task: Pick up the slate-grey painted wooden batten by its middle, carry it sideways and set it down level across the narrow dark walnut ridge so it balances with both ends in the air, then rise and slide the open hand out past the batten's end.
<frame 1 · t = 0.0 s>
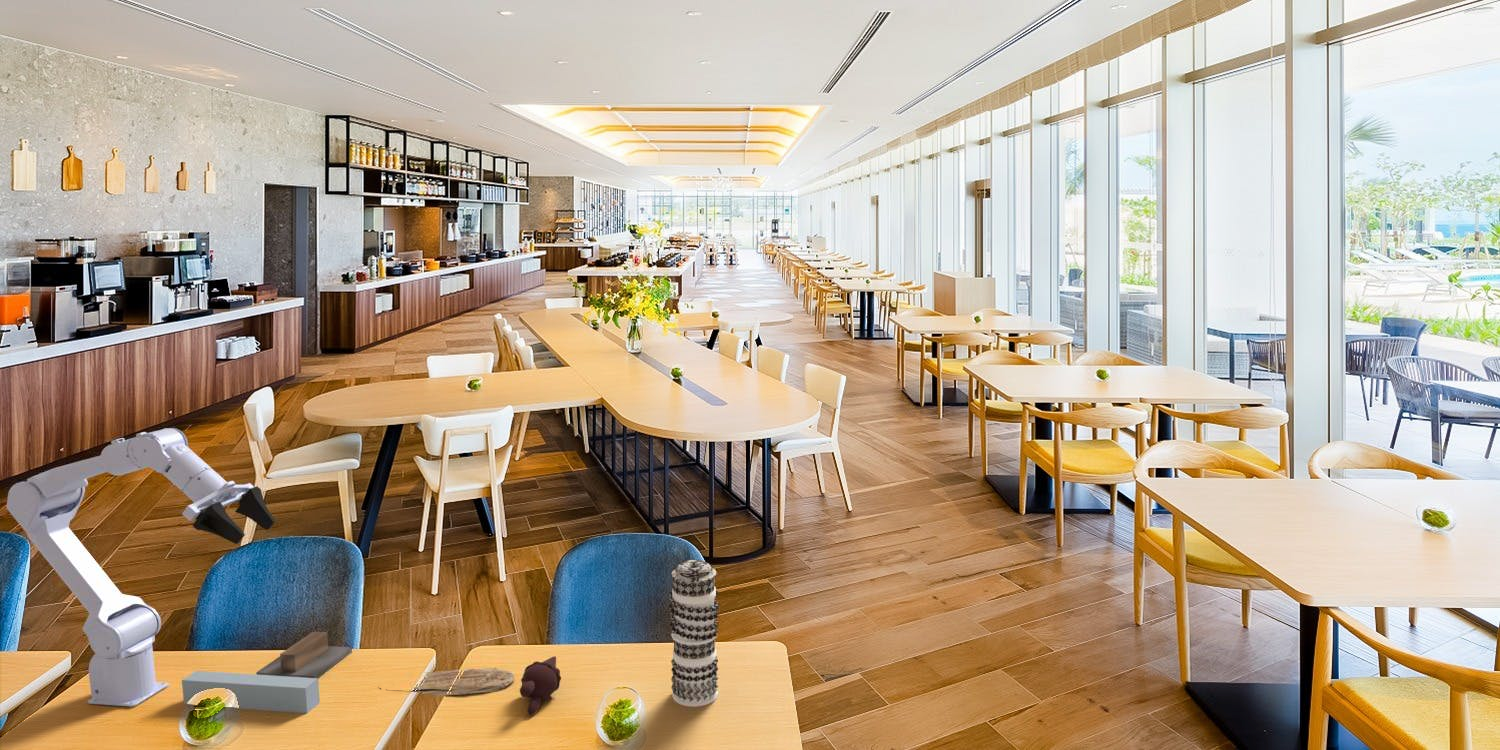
hand: (256, 532, 146), 32 cm above the table, tool tilted 50°, fingers open, 7 cm apart
icecream: (541, 697, 153), on the table
fulcrum: (305, 664, 165), on the table
fish fossil: (446, 684, 159), on the table
batten: (252, 705, 151), on the table
white patterned cylinder: (694, 695, 154), on the table
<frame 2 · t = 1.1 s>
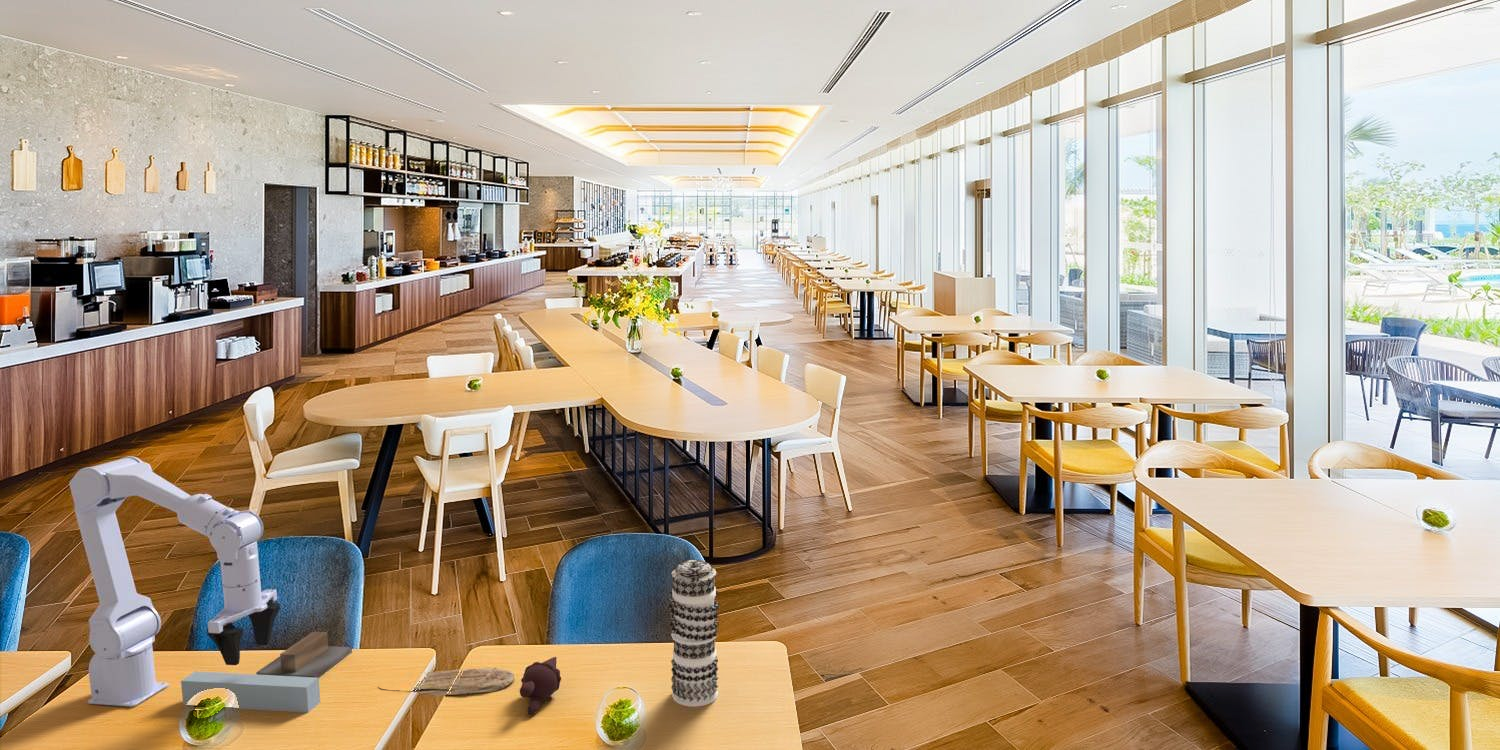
hand: (248, 654, 149), 9 cm above the table, tool pointing down, fingers open, 7 cm apart
nothing on the table moved.
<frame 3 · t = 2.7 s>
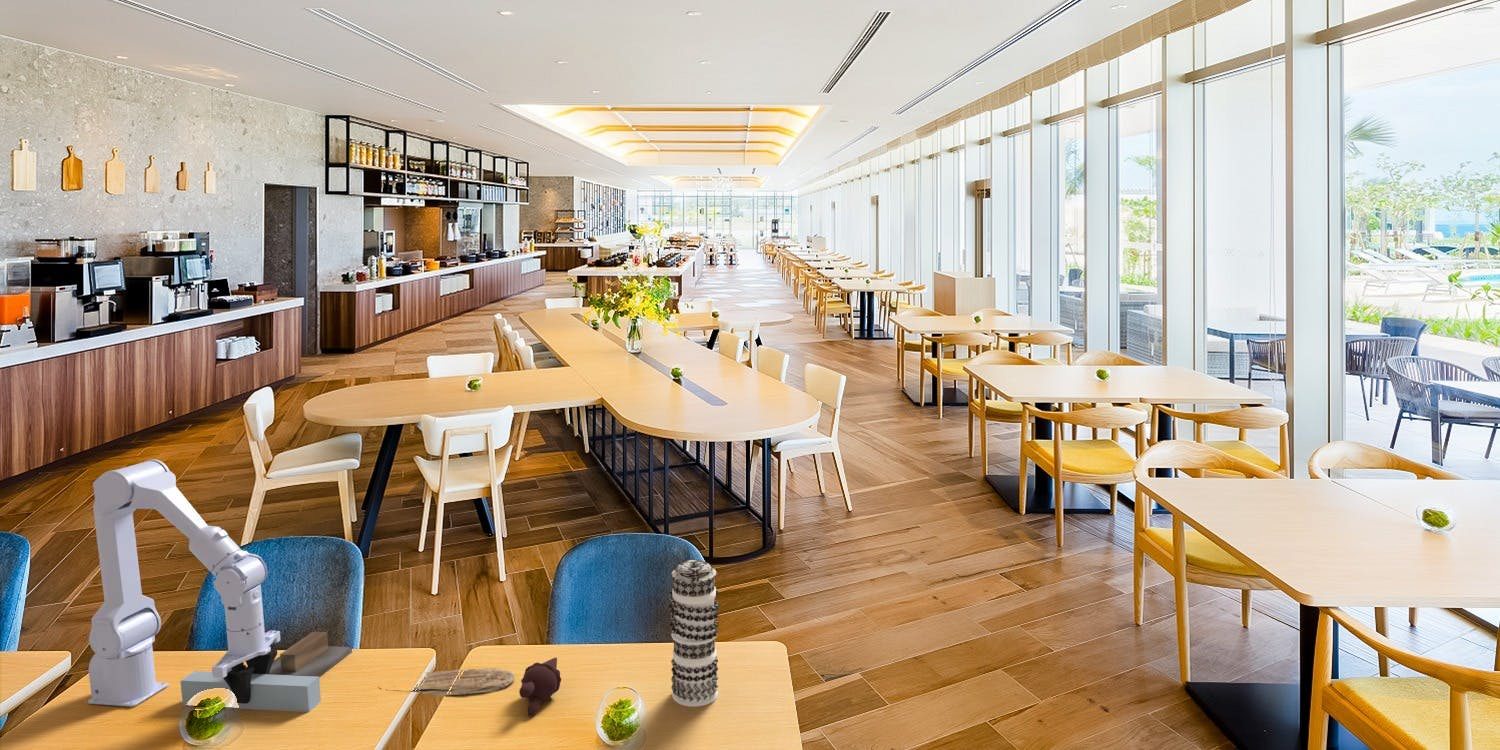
hand: (251, 696, 150), 1 cm above the table, tool pointing down, fingers closed on batten, 4 cm apart
batten: (252, 704, 151), on the table, touching gripper
everything else where it was.
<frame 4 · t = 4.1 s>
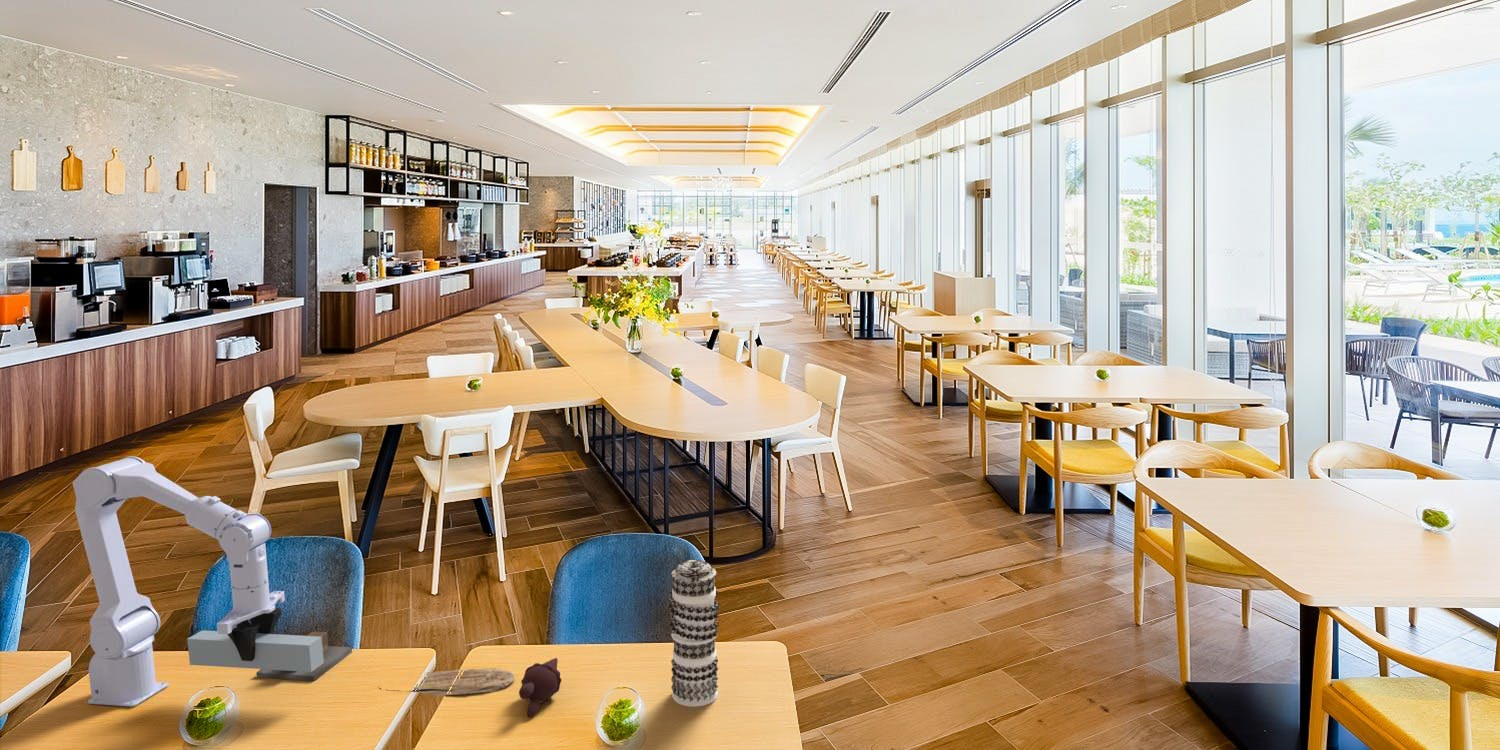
hand: (256, 654, 151), 8 cm above the table, tool pointing down, fingers closed on batten, 3 cm apart
batten: (256, 663, 152), point 7 cm above the table, touching gripper
everything else where it was.
when the fingers open (7 cm above the table, at t = 5.7 s): batten stays where it is, resting on fulcrum.
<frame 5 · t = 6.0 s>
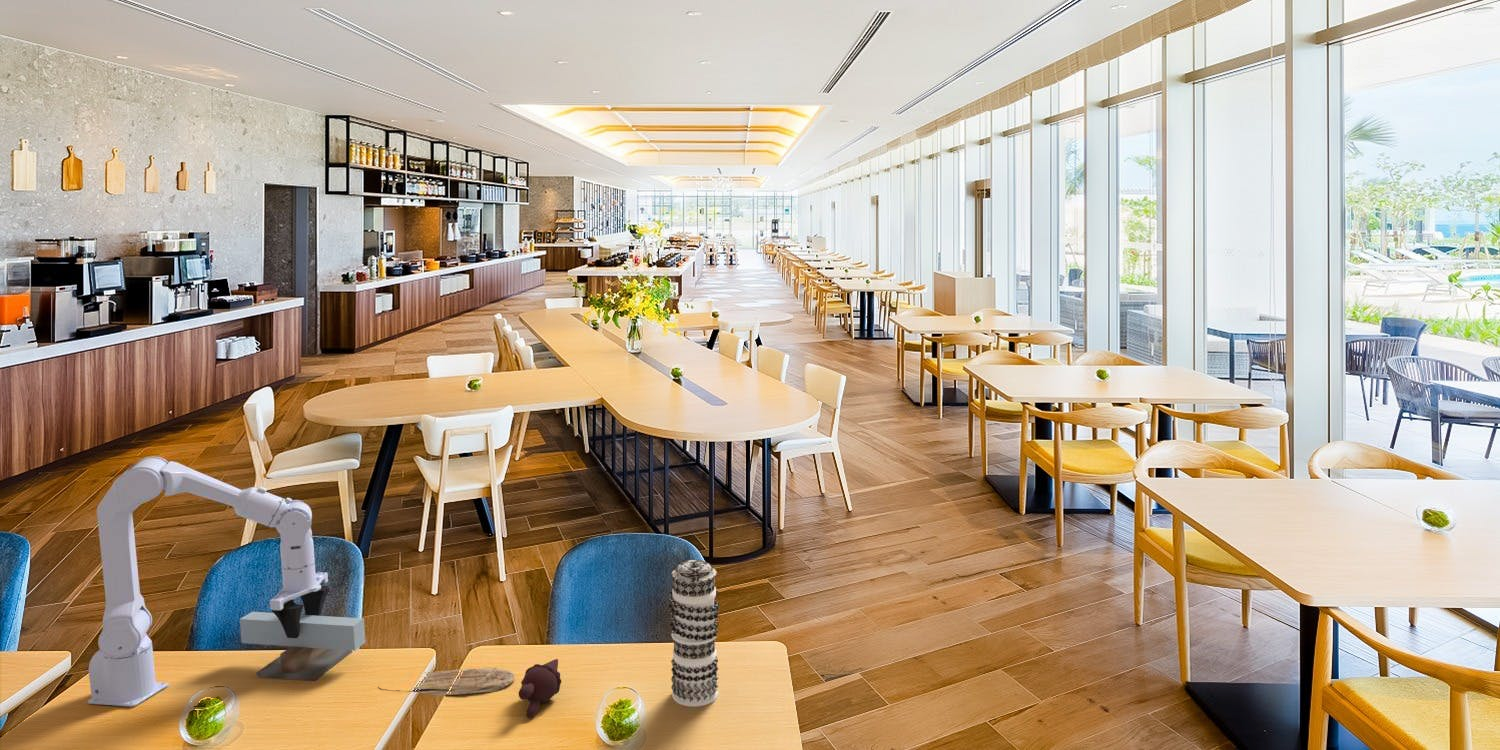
hand: (303, 630, 164), 7 cm above the table, tool pointing down, fingers open, 6 cm apart
batten: (303, 642, 165), point 5 cm above the table, touching fulcrum
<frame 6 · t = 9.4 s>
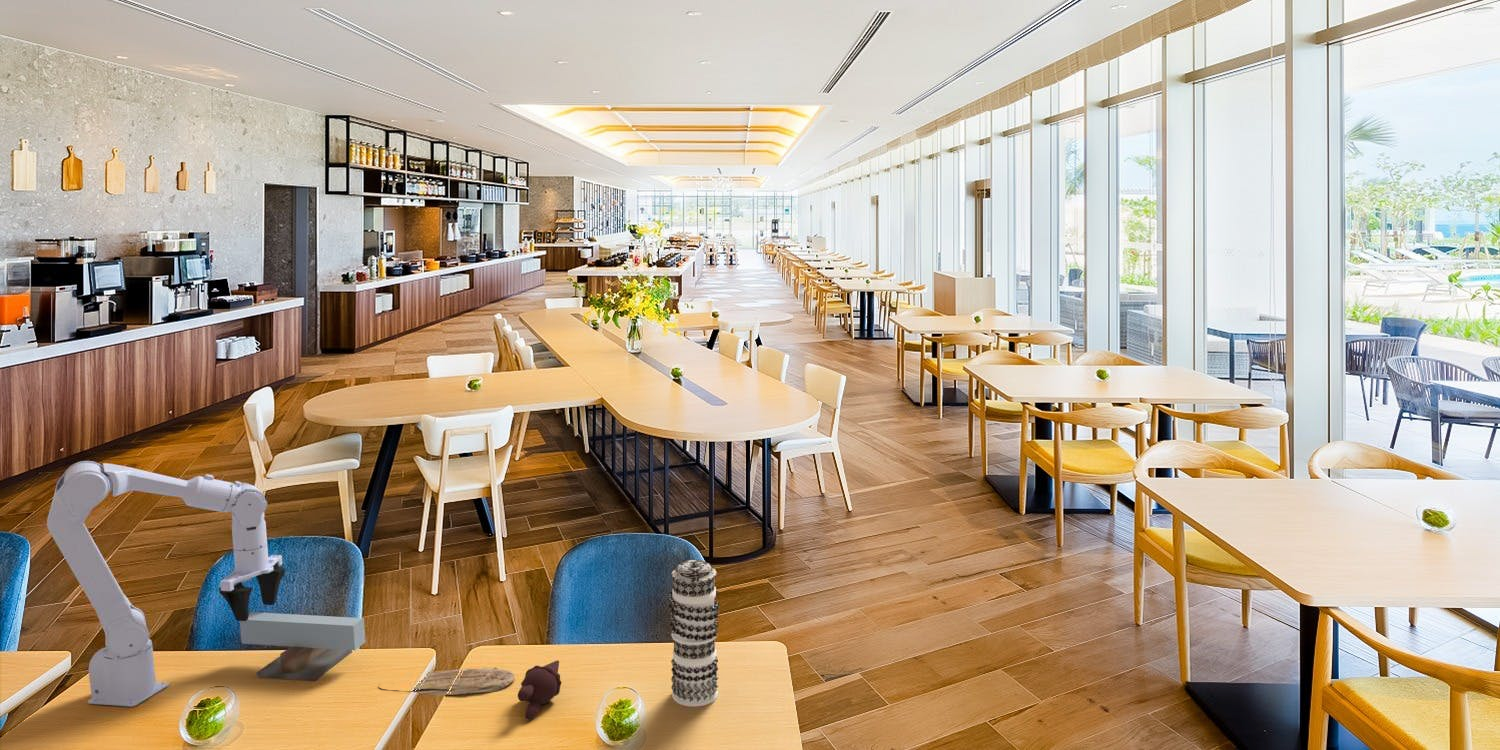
hand: (255, 612, 165), 10 cm above the table, tool pointing down, fingers open, 7 cm apart
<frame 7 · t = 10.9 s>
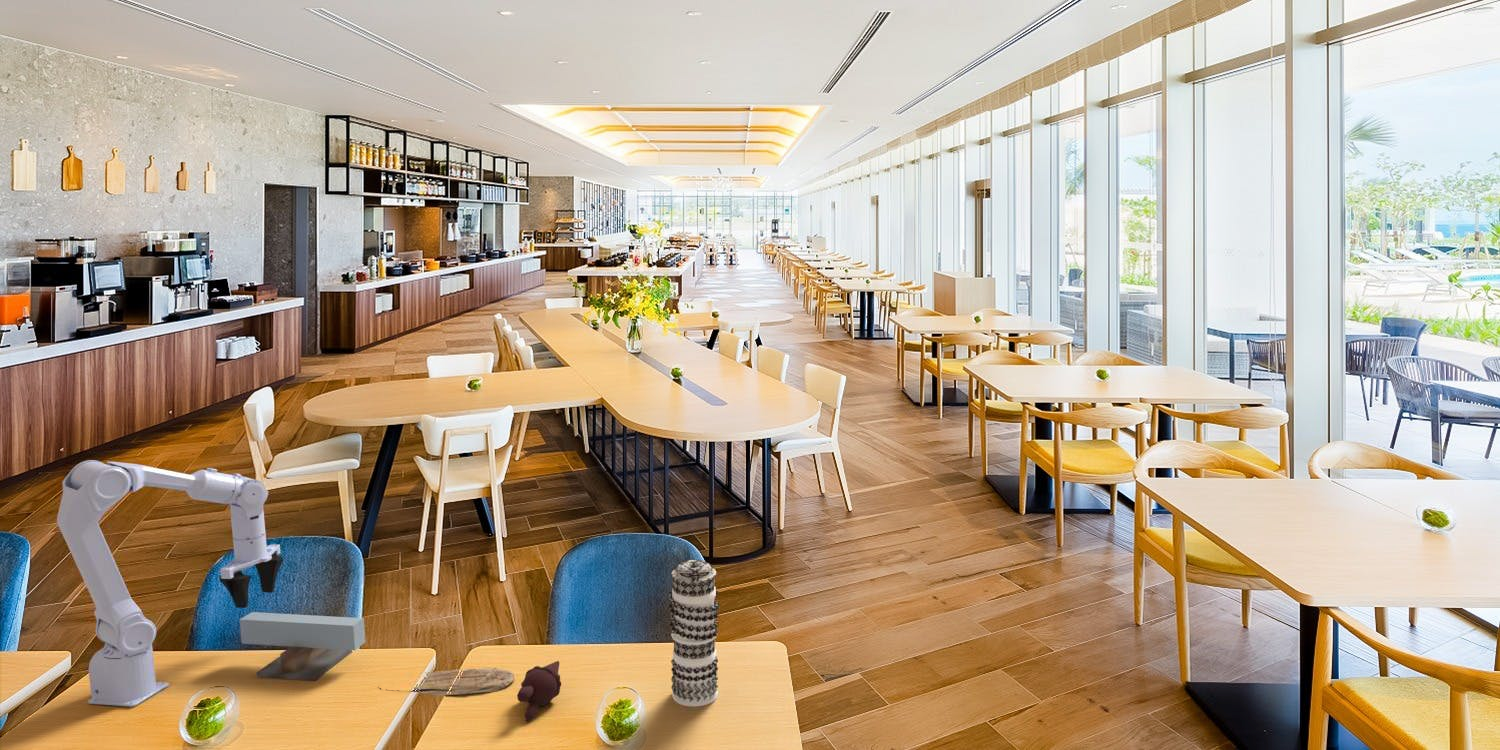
hand: (255, 599, 171), 11 cm above the table, tool pointing down, fingers open, 7 cm apart
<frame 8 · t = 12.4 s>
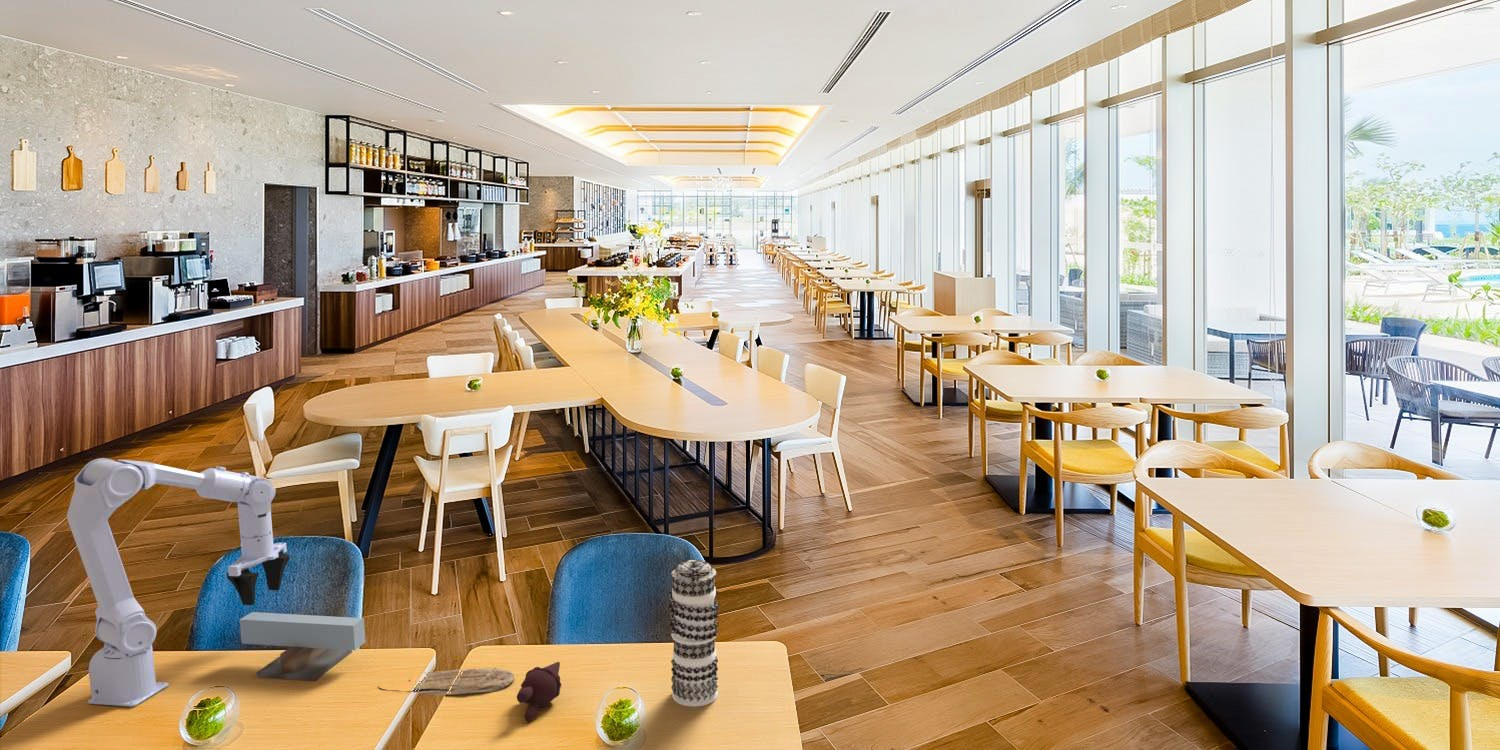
hand: (261, 596, 173), 10 cm above the table, tool pointing down, fingers open, 7 cm apart
at the end: batten 0.1 cm off-centre on the fulcrum, point 4.5 cm above the fulcrum's base; batten touching fulcrum; batten tilted 0° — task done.
